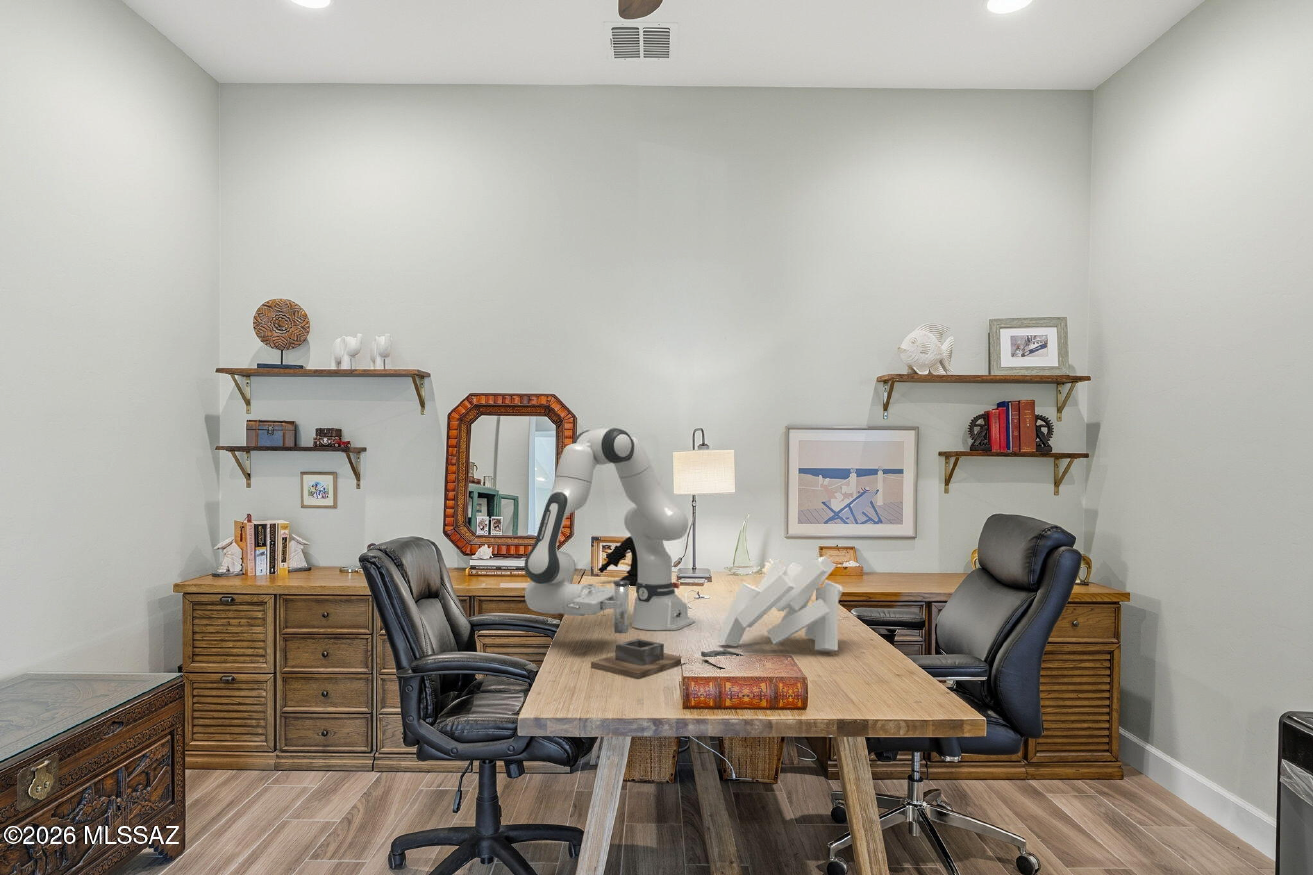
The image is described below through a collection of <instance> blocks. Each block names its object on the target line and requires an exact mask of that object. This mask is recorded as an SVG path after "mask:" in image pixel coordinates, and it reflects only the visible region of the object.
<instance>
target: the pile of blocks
mask: <svg viewBox="0 0 1313 875" xmlns="http://www.w3.org/2000/svg"><path fill="white" fill-rule="evenodd" d="M836 567H837V566H836V565H835V564H834V563H833V562H832V561H831V560H830V559H829V558H828V557H827V556H820V557H818V559H814V558H813V559H812V560H810V562H809V563H807V564H806V565H805V566H804V567H802V565H801V564H800V563H798V562H794V561H793V562H792V563H791V564H789V565H788V566H786V565H785V564H783V563H782V562H780V561H778V560H777V559H774V560H773V562H772V563H771V565H770V566H769V568H768V570H767V572H766V573H765V575H764V576H763V577H762V580H760V581H761V582H760V583H759V584H758V586H757V587H756V586H753V585H751V584H748V583H745V582H741V584H740V587H739V589H738V590H737V593H736V595H735V597H734V599H733V601H732V604H731V605H730V608H729V610H728V612H727V615H725V616H726V617H725V618H724V621H723V623H722V625H721V627H720V629H719V631H718V633H717V636H716V638H717V639H718V640H720V641H721V642H722V643H723V644H726V645H728V646H730V647H731V646H732V647H734V646H733V645H738V646H739V645H740V642H741V641H742V638H743V636H744V634H745V632H746V629H747V628H753V626H755V625H756V624H757V623H758V622H759V621H761V619H762V618H763V617H764V616H765V615H767V614H768V613H769V612H770V611H771V610H772V609H776V611H777V612H784V611H785V612H784V614H783V616H782V618H781V620H780V622H779V623H777V624H775V625H774V626H772V627H770V628H769V629H767V630H766V633H767V635H768V636H769V638H770V640H771V641H772V643H773V645H775V644H776V645H777V644H780V643H781V642H782V643H783V642H784V641H786V640H787V639H791V638H792V636H794V635H795V634H797V633H799V632H801V631H802V630H804V637H806V638H809V639H811V640H814V650H815V651H818V652H823V651H828V652H827V653H831V652H834V651H835V652H836V651H838V650H839V601H840V598H841V596H842V593H843V586H842V585H841V584H837V583H835V582H832V581H829V580H827V579H826V578H828V576H829V575H830V574H831V573H832V571H833V570H834V569H836ZM823 582H824V583H823ZM822 583H823V585H822V586H820V585H821V584H822ZM819 586H820V587H819ZM814 593H815V601H813V602H812V603H811V604H809V603H810V601H811V598H812V597H813V595H814Z"/></svg>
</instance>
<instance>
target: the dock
mask: <svg viewBox="0 0 1313 875" xmlns="http://www.w3.org/2000/svg"><path fill="white" fill-rule="evenodd" d="M664 647H665V643H662V642H656V641H651V640H647V639H642V638H635V639H631V640H627V641H624V642H620V643H616V644H615V647H614V648H615V651H614V652H615V654H614V655H610V656H606V657H602V658H598V659H595V660H592V661H590V668H591V669H595V670H598V671H599V670H600V671H603V670H604V672H608V673H613V674H616V675H620V676H623V677H629V678H631V679H637V680H640V679H643V678H646V677H649V676H652V675H655V674H658V673H660V672H664V671H667V670H671V669H674V668H677V667H680V666H681V665H680V664H681V658H682V657H683V656H682V655H676V654H671V653H667V652H664V651H665V650H664V649H665V648H664ZM685 657H686V656H685ZM686 658H687V657H686ZM687 659H688V658H687ZM679 665H680V666H679Z"/></svg>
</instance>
